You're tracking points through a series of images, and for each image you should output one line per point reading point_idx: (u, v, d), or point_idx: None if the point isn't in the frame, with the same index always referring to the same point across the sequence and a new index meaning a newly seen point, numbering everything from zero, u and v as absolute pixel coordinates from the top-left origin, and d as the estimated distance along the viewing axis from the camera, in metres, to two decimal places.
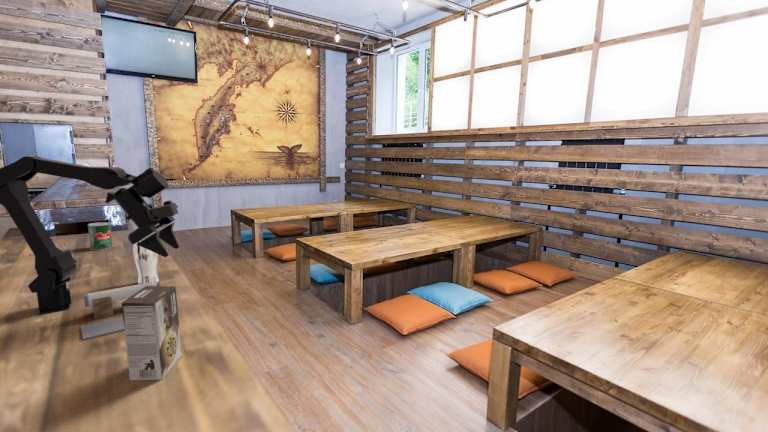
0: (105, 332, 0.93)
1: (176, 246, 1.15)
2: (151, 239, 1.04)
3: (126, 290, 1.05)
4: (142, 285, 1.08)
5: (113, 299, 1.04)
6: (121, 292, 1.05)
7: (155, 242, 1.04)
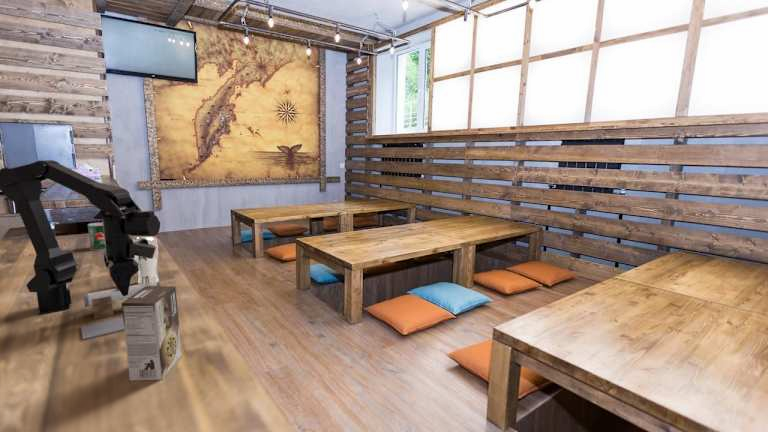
0: (105, 332, 0.93)
1: None
2: None
3: None
4: (142, 285, 1.08)
5: (113, 299, 1.04)
6: None
7: (126, 279, 1.01)
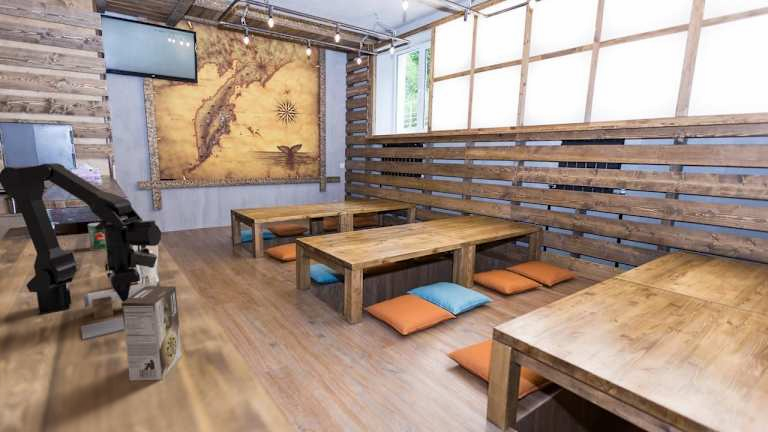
0: (105, 332, 0.93)
1: None
2: None
3: None
4: (142, 285, 1.08)
5: (113, 299, 1.04)
6: None
7: (126, 285, 1.04)
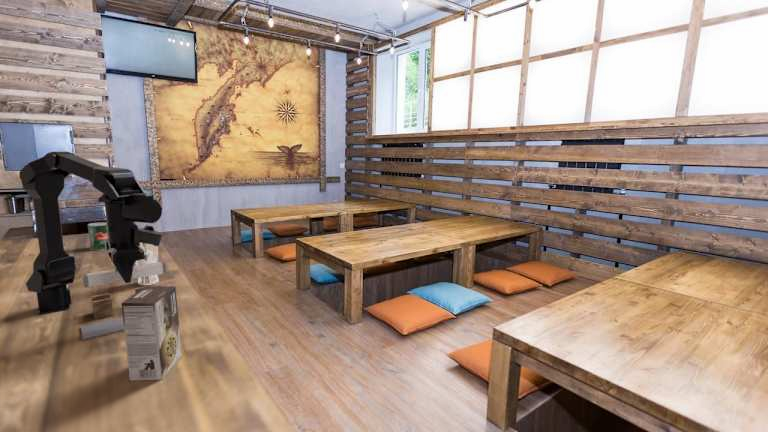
0: (105, 332, 0.93)
1: None
2: None
3: None
4: (147, 265, 0.99)
5: (115, 280, 0.94)
6: None
7: (129, 264, 0.95)
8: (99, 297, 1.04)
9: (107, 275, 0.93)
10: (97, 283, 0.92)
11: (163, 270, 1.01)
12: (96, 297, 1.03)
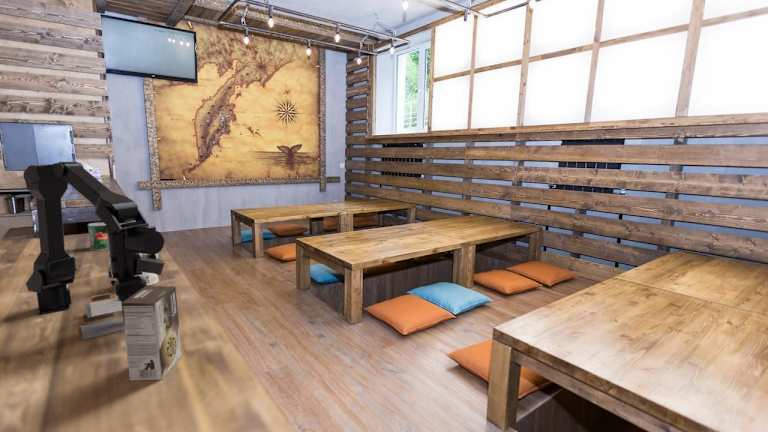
0: (105, 332, 0.93)
1: None
2: None
3: None
4: None
5: (118, 309, 0.96)
6: None
7: (131, 294, 0.96)
8: (99, 297, 1.04)
9: (110, 305, 0.94)
10: (100, 313, 0.93)
11: None
12: (96, 297, 1.03)
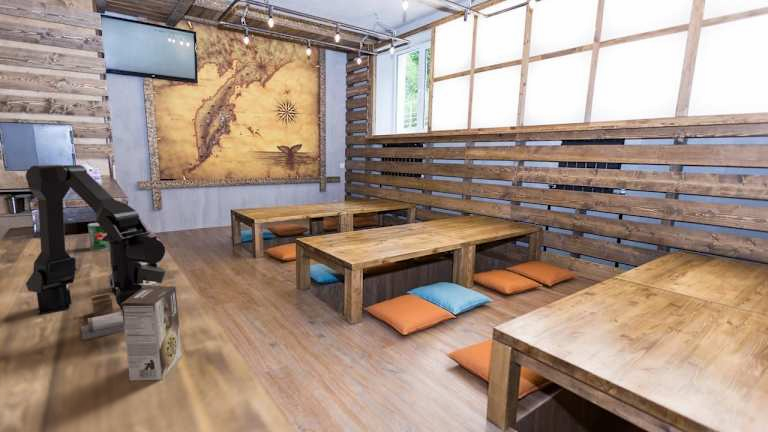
0: (105, 332, 0.93)
1: None
2: None
3: None
4: None
5: (119, 323, 0.96)
6: None
7: None
8: (99, 297, 1.04)
9: (111, 319, 0.95)
10: (102, 328, 0.94)
11: None
12: (96, 297, 1.03)
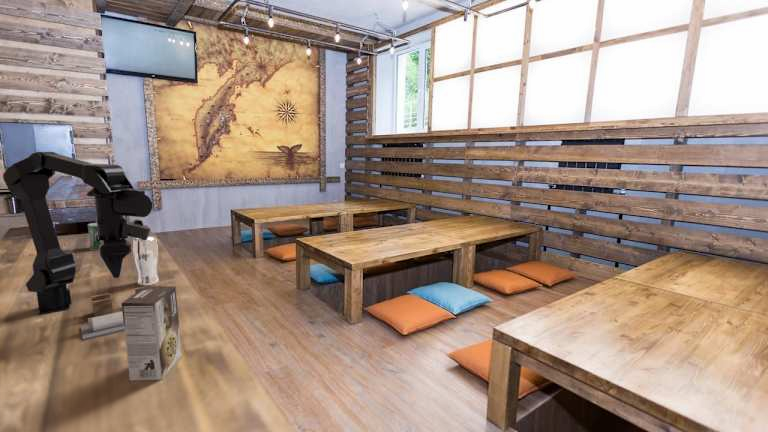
0: (105, 332, 0.93)
1: None
2: (115, 255, 0.96)
3: None
4: None
5: (119, 323, 0.96)
6: None
7: (118, 260, 0.96)
8: (99, 297, 1.04)
9: (111, 319, 0.95)
10: (102, 328, 0.94)
11: None
12: (96, 297, 1.03)
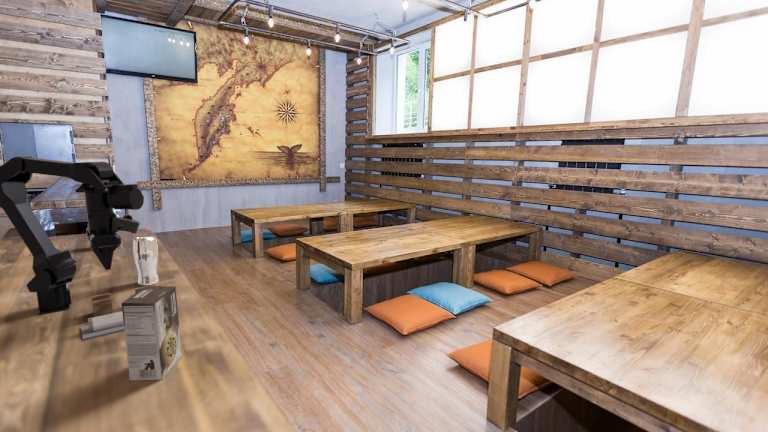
0: (105, 332, 0.93)
1: None
2: (106, 248, 1.00)
3: None
4: None
5: (119, 323, 0.96)
6: None
7: (108, 252, 1.00)
8: (99, 297, 1.04)
9: (111, 319, 0.95)
10: (102, 328, 0.94)
11: None
12: (96, 297, 1.03)
